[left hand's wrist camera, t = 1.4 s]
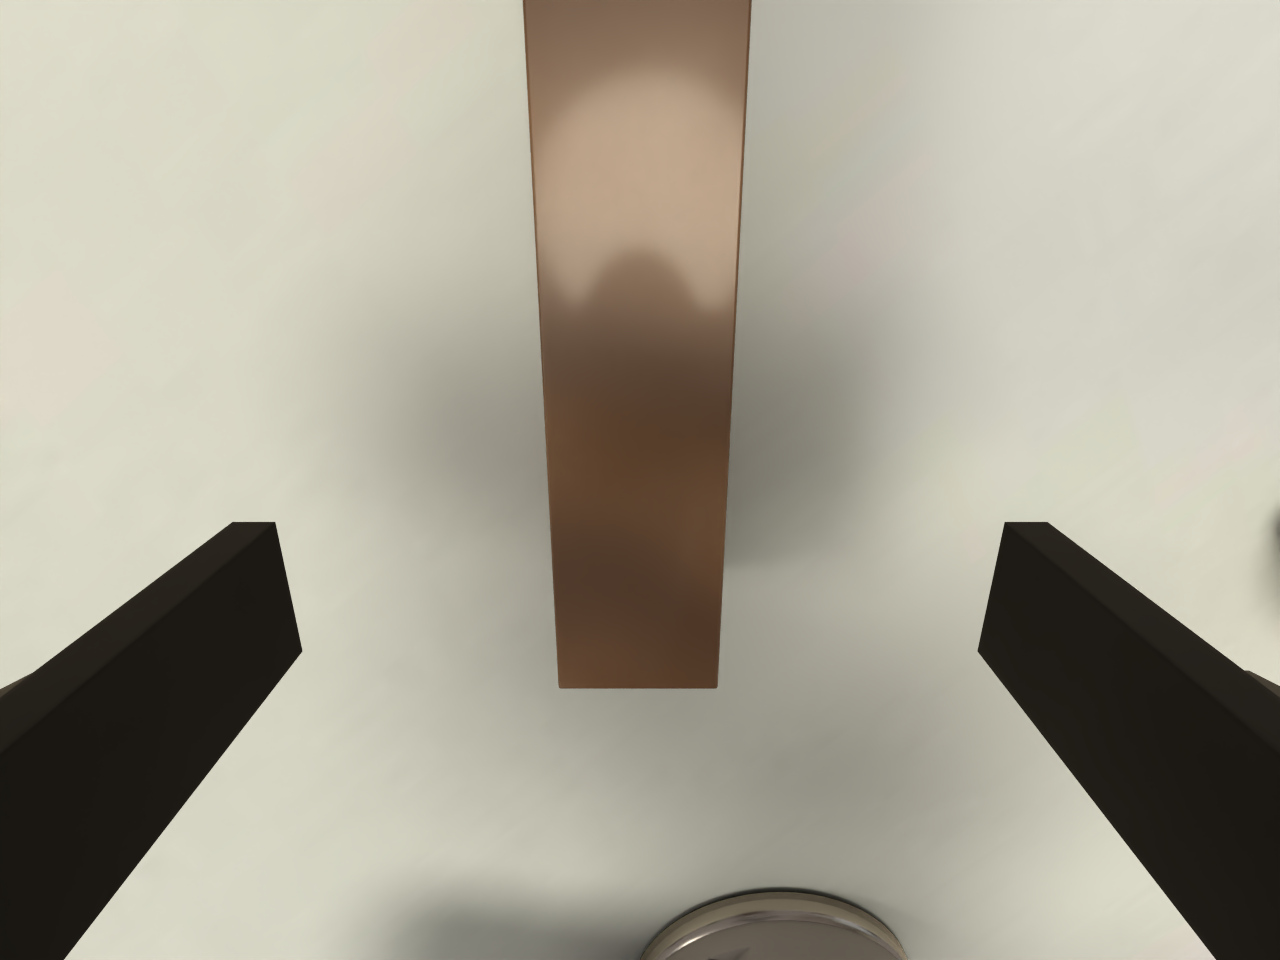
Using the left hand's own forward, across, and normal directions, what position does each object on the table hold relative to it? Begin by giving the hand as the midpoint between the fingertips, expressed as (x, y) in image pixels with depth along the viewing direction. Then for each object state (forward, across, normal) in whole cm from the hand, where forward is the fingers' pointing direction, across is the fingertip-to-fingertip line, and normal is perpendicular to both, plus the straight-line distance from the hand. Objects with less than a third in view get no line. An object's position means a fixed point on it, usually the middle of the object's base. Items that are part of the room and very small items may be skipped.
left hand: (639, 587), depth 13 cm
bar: (+14, 0, -28) cm, 31 cm away
